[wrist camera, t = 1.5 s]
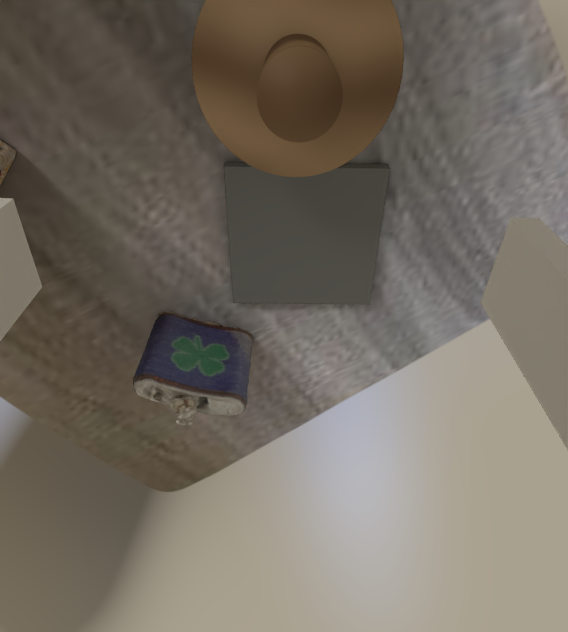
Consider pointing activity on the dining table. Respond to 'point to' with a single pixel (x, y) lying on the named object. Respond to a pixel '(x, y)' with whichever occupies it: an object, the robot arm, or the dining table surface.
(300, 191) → the mat
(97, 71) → the dining table surface
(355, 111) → the lid
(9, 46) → the dining table surface
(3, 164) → the decorative jar
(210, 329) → the flask
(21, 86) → the dining table surface
